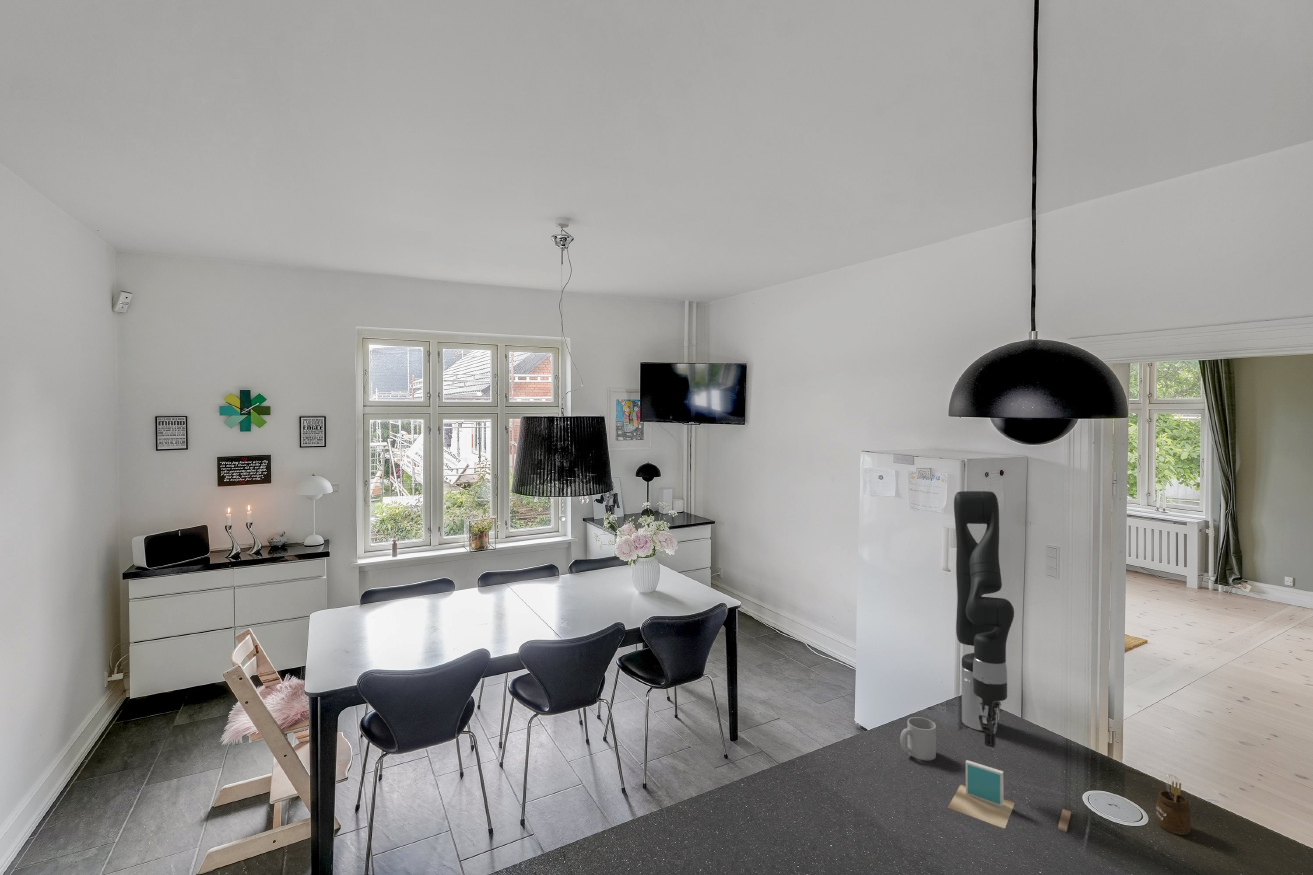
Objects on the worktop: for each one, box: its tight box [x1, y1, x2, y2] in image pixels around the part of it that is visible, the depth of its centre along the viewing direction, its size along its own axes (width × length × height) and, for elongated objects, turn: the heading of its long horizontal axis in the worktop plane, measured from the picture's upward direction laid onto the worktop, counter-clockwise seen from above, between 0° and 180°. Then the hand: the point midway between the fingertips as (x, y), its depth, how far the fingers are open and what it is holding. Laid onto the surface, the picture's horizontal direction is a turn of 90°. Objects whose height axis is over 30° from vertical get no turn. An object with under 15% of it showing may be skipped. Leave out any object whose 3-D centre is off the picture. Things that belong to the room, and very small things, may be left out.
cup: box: [899, 716, 937, 761], centre depth 167 cm, size 7×10×9 cm
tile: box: [965, 759, 1004, 807], centre depth 146 cm, size 1×8×8 cm, turn 50°
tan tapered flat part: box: [1057, 808, 1072, 833], centre depth 136 cm, size 13×4×1 cm, turn 140°
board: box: [947, 784, 1016, 829], centre depth 144 cm, size 12×12×1 cm
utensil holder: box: [1155, 773, 1192, 836], centre depth 136 cm, size 6×6×12 cm
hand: (990, 745), depth 151 cm, fingers closed
